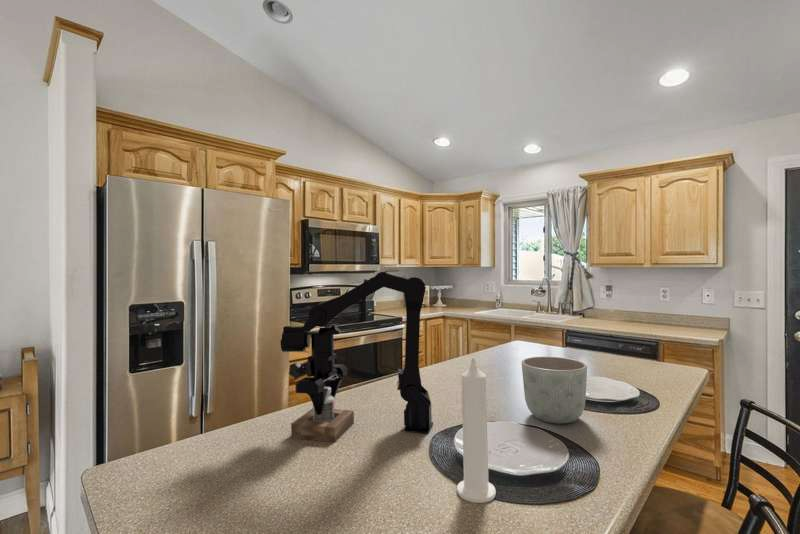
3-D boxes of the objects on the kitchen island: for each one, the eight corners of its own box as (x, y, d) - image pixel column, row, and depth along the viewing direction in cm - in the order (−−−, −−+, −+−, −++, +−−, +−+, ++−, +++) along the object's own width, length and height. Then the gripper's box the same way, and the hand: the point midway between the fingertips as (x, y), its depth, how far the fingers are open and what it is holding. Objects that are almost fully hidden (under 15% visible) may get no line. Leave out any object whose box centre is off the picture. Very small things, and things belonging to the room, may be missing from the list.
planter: (511, 419, 109) (510, 364, 109) (537, 403, 121) (536, 353, 121) (575, 436, 97) (574, 374, 97) (597, 416, 109) (595, 361, 110)
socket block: (353, 423, 108) (353, 410, 108) (335, 442, 96) (334, 427, 96) (314, 419, 111) (313, 407, 111) (291, 437, 99) (291, 423, 99)
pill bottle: (337, 426, 103) (336, 388, 103) (318, 431, 100) (317, 392, 100) (329, 420, 107) (328, 384, 107) (310, 424, 104) (309, 387, 105)
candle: (453, 483, 77) (450, 354, 77) (488, 481, 77) (486, 353, 77) (462, 504, 70) (459, 362, 70) (501, 502, 70) (498, 361, 70)
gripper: (312, 343, 115) (313, 397, 115) (275, 357, 97) (276, 421, 97) (347, 344, 112) (348, 399, 112) (316, 359, 94) (317, 425, 94)
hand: (323, 410), depth 104 cm, fingers open, 5 cm apart
